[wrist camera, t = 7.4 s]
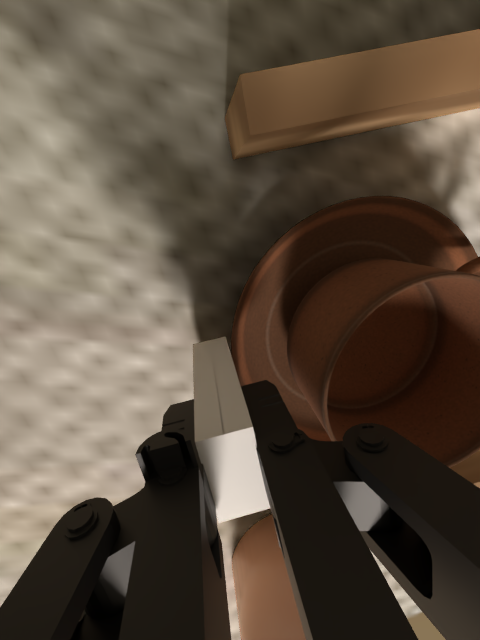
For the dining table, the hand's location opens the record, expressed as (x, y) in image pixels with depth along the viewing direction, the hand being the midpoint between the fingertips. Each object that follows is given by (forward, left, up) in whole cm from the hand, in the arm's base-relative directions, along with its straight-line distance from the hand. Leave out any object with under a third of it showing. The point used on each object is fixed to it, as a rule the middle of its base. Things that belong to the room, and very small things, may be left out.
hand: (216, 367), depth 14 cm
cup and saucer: (0, +7, -1) cm, 7 cm away
